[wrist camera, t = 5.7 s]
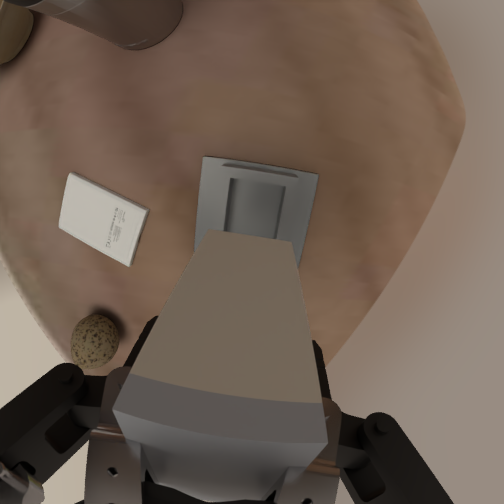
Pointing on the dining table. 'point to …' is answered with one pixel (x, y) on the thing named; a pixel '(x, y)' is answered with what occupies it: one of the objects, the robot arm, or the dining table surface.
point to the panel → (255, 201)
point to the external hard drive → (102, 218)
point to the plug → (228, 374)
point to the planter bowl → (13, 29)
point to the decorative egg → (94, 342)
